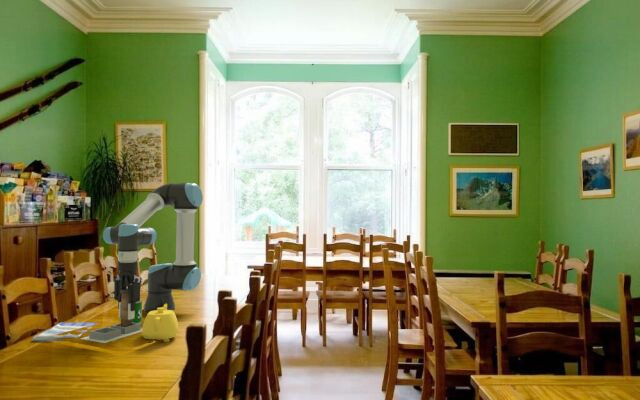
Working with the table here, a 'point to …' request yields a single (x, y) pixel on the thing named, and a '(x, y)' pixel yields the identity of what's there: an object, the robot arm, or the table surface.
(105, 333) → the board
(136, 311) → the soda can
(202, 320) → the table surface
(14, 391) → the table surface
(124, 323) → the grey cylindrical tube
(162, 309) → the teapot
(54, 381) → the table surface
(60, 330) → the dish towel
